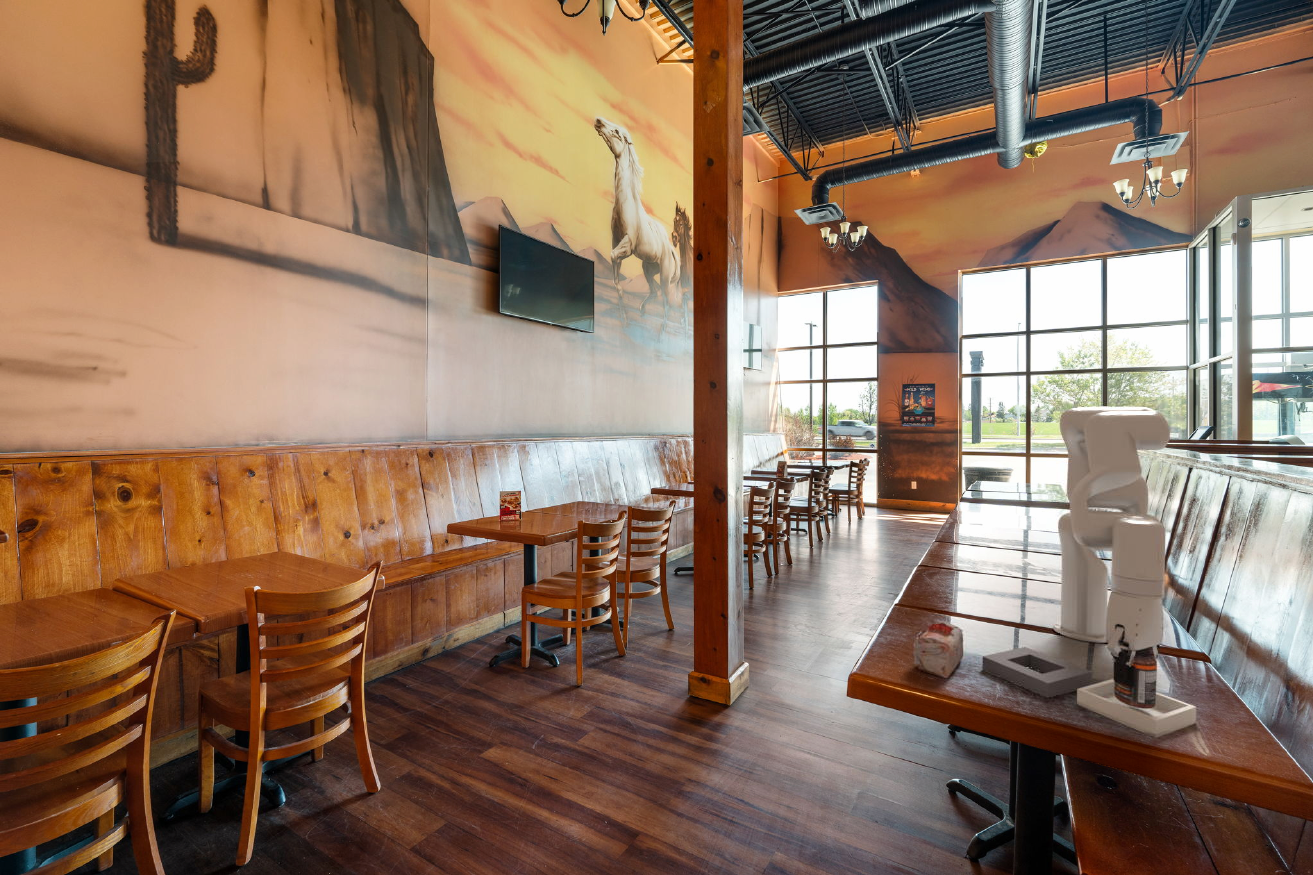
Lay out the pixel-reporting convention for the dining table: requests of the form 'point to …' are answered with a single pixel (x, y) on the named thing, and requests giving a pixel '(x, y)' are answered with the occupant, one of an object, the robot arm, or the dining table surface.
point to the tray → (1137, 710)
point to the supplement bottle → (1140, 681)
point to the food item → (939, 649)
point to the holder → (1049, 684)
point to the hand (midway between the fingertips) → (1134, 680)
